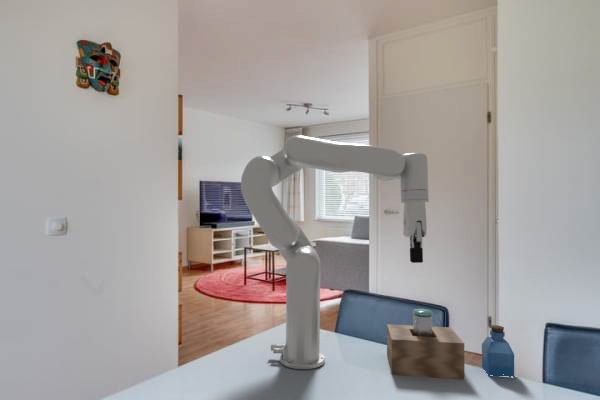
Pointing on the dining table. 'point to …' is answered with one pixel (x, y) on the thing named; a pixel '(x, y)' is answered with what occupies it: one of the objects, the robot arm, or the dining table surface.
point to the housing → (425, 352)
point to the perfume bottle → (497, 354)
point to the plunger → (422, 322)
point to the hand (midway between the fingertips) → (416, 262)
